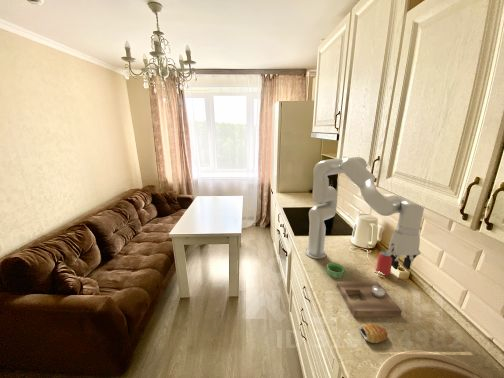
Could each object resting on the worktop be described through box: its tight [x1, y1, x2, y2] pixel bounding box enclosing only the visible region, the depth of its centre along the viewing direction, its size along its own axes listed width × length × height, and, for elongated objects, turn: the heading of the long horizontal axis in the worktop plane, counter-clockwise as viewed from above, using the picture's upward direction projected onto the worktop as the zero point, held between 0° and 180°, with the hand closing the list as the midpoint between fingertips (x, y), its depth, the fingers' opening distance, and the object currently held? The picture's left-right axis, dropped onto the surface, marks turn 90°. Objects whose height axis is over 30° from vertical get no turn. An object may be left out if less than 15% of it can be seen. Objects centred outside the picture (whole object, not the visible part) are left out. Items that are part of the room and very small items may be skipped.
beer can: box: [375, 250, 392, 277], centre depth 116 cm, size 7×7×12 cm
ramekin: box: [326, 262, 345, 279], centre depth 116 cm, size 9×9×4 cm
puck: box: [371, 285, 386, 299], centre depth 97 cm, size 5×5×3 cm
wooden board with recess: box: [336, 280, 403, 318], centre depth 98 cm, size 18×20×3 cm
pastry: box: [358, 323, 388, 344], centre depth 80 cm, size 9×7×4 cm
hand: (400, 267), depth 94 cm, fingers open, 4 cm apart
